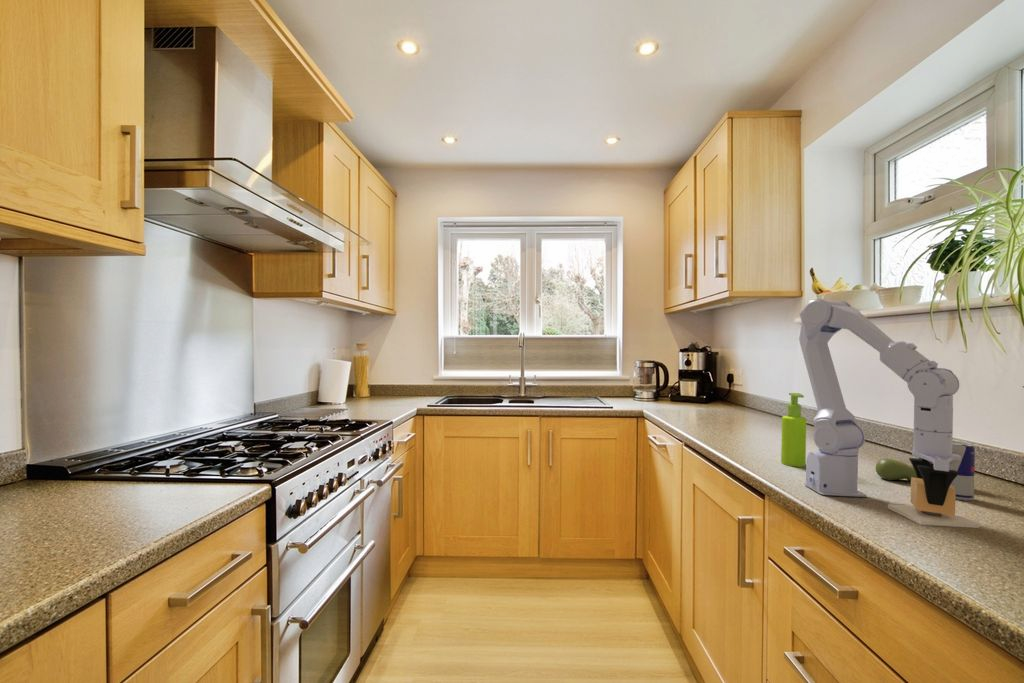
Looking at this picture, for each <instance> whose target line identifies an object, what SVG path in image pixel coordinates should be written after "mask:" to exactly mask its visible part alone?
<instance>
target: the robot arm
mask: <svg viewBox="0 0 1024 683" xmlns="http://www.w3.org/2000/svg"><path fill="white" fill-rule="evenodd" d="M799 317H800V320H801V325H800V330H799V337H798V341H799V345H800V348H801V352H802V356H803V359H804V363H805V366H806V370H807V374H808V378H809V382H810V384H811V388H812V391H813V392H812V393H813V396H814V399H815V404H816V407H817V414H816V415H815V416H814V418H813V420H812V422H813V429H814V430H813V434H812V436H813V438H812V439H813V442H814V444H815V445H816V447H817V448H818V451H809V453H808V454H807V455H806V456H807V457H806V465H805V466H806V467H805V470H806V472H805V473H806V474H805V482H804V485H805V486H806V487H807V488H810V489H811V490H813V491H814V492H816V493H818V494H820V495H822V496H837V497H838V496H840V497H857V498H860V497H861V498H867V497H868V495H867V494H866V493H864V492H862V491H860V490H858V480H859V477H858V474H859V473H858V471H859V461H858V460H859V449H860V448H862V447H863V446H864V443H865V441H866V435H865V431H864V430H863V428H862V427H861V426H860V425H859V424H858V422H857V418H856V416H855V415H854V414H853V413H852V412H851V411H850V410H849V409H847V406H846V403H845V399H844V397H843V396H844V395H843V393H842V389H841V386H840V382H839V379H838V375H837V372H836V369H835V365H834V362H833V357H832V355H831V351H830V347H829V344H828V343H829V342H830V340H831V339H832V337H833V336H834V335H835V334H837V333H838V332H840V331H841V330H848V331H849V332H851V333H852V334H854V335H855V336H857V338H859V339H861V340H862V341H863V342H865V343H866V344H868V345H869V346H870V347H872V348H873V349H875V350H876V352H878V353H879V360H880V362H881V363H883V365H884V366H886V367H887V368H888V369H890V370H891V371H892V372H893V373H894V374H896V375H897V376H898V377H899V378H901V379H902V380H903V381H904V382H906V384H907V387H908V391H909V392H910V393H911V394H912V395H913V398H914V399H913V400H914V401H913V439H912V441H913V446H912V447H913V449H912V450H911V455H912V456H915V457H910V458H908V460H909V462H910V463H911V466H913V468H914V470H915V473H916V476H917V478H921V479H923V481H924V486H925V492H926V498H927V501H928V503H929V504H933V505H940V506H943V504H944V502H945V499H946V495H947V492H948V489H949V487H950V485H951V483H952V481H953V480H954V479H955V478H956V477H957V475H958V472H957V471H955V470H949V462H951V461H952V460H961V456H959V455H956V454H952V442H953V431H954V430H953V427H954V423H953V422H954V395H955V394H956V393H957V392H958V391H959V389H960V380H959V378H958V377H957V375H956V374H955V373H954V372H953V370H951V369H948V368H943V367H938V366H939V363H938V362H936V361H935V360H930V359H929V358H927V357H926V356H924V355H923V354H922V353H920V352H919V351H918V350H917V348H918V346H917V345H916V344H914V343H910V342H909V343H908V342H906V341H901V340H900V341H894V340H893V339H892V338H891V337H889V335H887V334H886V333H885V332H883V331H882V330H881V329H880V328H879V327H878V326H876V324H874V323H873V322H872V321H871V320H870V319H868V318H867V317H866V316H865V315H864V314H862V313H861V311H860V310H859V309H858V308H856V307H854V306H852V305H851V304H850V303H849V302H847V301H844V300H829V299H822V298H814V299H811V300H809V301H807V303H806V304H805V305H804V307H803V308H802V310H801V311H800V313H799Z"/></svg>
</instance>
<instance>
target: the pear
mask: <svg viewBox="0 0 1024 683" xmlns="http://www.w3.org/2000/svg"><path fill="white" fill-rule="evenodd" d="M875 472H876V475H878V476H879V477H880V478H882V479H884V480H887V481H895V480H897V481H898V480H908V481H909V482H911V477H913V478H917V476H916V473H915V470H914V468H913V465H909V464H907V463H905V462H902V461H900V460H896V459H892V458H881V459H880V460H878V461H877V463H876V464H875Z"/></svg>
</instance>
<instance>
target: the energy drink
mask: <svg viewBox="0 0 1024 683" xmlns="http://www.w3.org/2000/svg"><path fill="white" fill-rule="evenodd" d="M975 452H976V450H975V447H974V444H971V443H967V442H960V441H952V454H956V455H959V456H961V460H952V461H951V462H949V470H955V471H957V472H958V475H957V477H956V478H955V479H954V480H953V481H952V483H951V485H952V486H953V487H954V488H955V489H956V495H955V501H963V502H964V501H965V502H972V501H973V500H974V499H975V467H976V466H975V464H976V463H975V457H976V456H975V454H976V453H975Z"/></svg>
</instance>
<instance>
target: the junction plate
mask: <svg viewBox="0 0 1024 683" xmlns="http://www.w3.org/2000/svg"><path fill="white" fill-rule="evenodd" d="M887 508H888V509H889V510H891V511H892V512H895V513H897V514H898V515H901V516H903V517H905V518H907V519H909V520H911V521H913V522H915V523H917V524H918V525H921V526H935V527H936V526H938V527H955V528H956V527H957V528H960V527H961V528H971V529H972V528H975V529H976V528H977V529H979V528H980V523H979V522H977V521H975V520H972V519H970V518H968V517H966V516H963V515H960V514H958V513H956V512H955V516H954V515H947V514H941V513H934V512H927V511H921V510H916V509H915V507H914V506H913V505H912V504H911V505H910V504H908V505H907V504H905V505H904V504H889V503H888V504H887Z"/></svg>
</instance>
